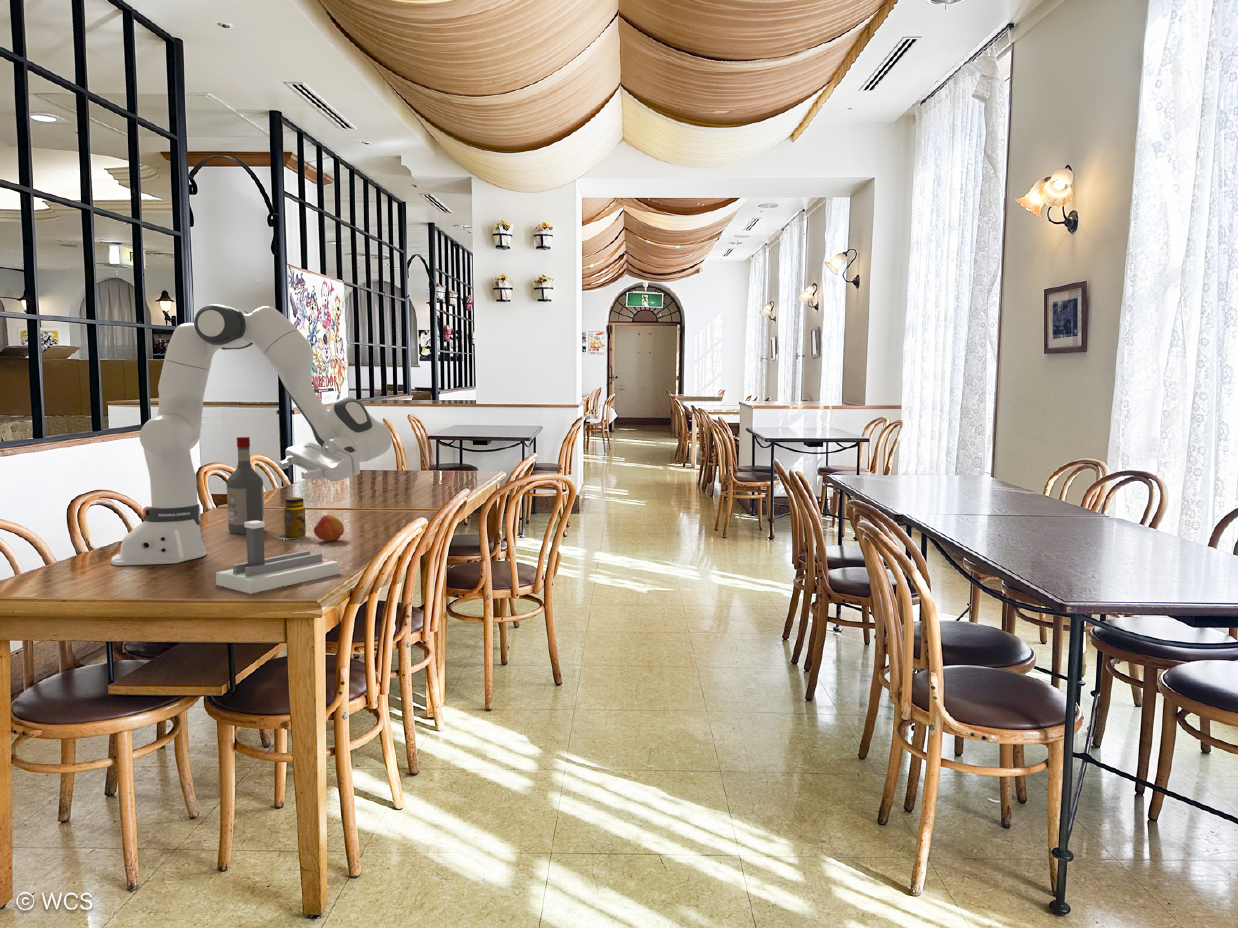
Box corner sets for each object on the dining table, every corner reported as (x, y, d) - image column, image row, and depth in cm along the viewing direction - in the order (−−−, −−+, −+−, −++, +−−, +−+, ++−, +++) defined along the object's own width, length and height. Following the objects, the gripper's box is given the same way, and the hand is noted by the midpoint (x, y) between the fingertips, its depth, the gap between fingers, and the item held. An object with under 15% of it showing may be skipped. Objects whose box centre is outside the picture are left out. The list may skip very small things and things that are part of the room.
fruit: (321, 538, 253) (320, 512, 252) (347, 538, 253) (346, 512, 252) (311, 543, 245) (310, 516, 245) (338, 543, 245) (337, 517, 244)
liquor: (242, 535, 257) (238, 438, 254) (225, 531, 262) (221, 437, 259) (268, 530, 265) (265, 437, 262) (251, 527, 270) (247, 436, 267)
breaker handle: (254, 573, 195) (253, 523, 194) (246, 570, 197) (244, 522, 196) (266, 570, 197) (264, 521, 196) (257, 568, 199) (256, 520, 198)
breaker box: (250, 593, 188) (249, 572, 188) (216, 584, 196) (215, 564, 196) (339, 573, 208) (338, 554, 208) (305, 566, 216) (304, 547, 215)
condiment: (311, 536, 256) (309, 498, 254) (283, 540, 250) (282, 501, 248) (301, 533, 261) (299, 495, 260) (274, 537, 255) (272, 498, 254)
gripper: (312, 433, 221) (265, 448, 211) (361, 453, 211) (315, 471, 201) (314, 454, 224) (268, 470, 214) (363, 476, 213) (317, 494, 203)
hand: (291, 471), depth 207 cm, fingers open, 8 cm apart
